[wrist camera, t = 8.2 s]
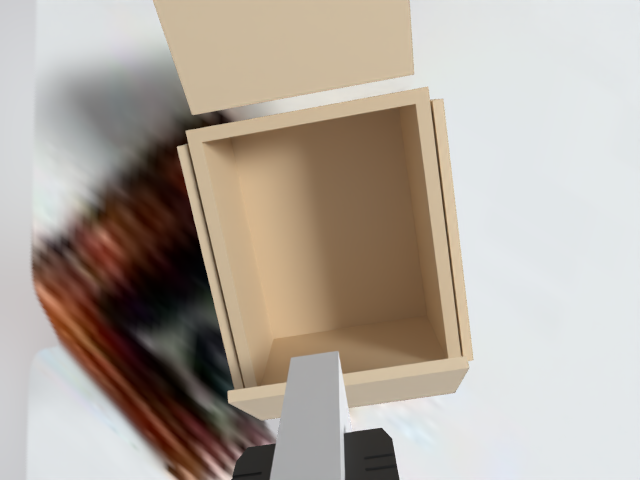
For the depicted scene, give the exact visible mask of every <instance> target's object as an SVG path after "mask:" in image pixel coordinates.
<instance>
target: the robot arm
mask: <svg viewBox="0 0 640 480" xmlns="http://www.w3.org/2000/svg"><path fill="white" fill-rule="evenodd" d="M231 480H399V475H398V469H397V464H396V458H395V453H394V447H393V442H392V438H391V437H390V436H389V435H388V434H387V433H386V432H385V431H384V430H383V429H382V428H377V429H370V430H362V431H355V432H352V426H351V421H350V415H349V409H348V403H347V398H346V392H345V386H344V380H343V375H342V369H341V363H340V358H339V352H338V351H334V352H327V353H320V354H313V355H306V356H299V357H292V358H291V361H290V366H289V372H288V378H287V384H286V389H285V395H284V401H283V406H282V412H281V418H280V424H279V430H278V435H277V441H276V444H270V445H263V446H255V447H248V448H247V449H246V450H245V452H244V453H243V454H242V455H241V456H240V458H239V459H238V460H237V462H236V465H235V469H234V472H233V479H231Z"/></svg>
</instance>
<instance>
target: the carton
mask: <svg viewBox="0 0 640 480" xmlns="http://www.w3.org/2000/svg"><path fill="white" fill-rule="evenodd" d="M186 136H187V140H188V144H185V145H181V146H177V150H178V154H179V158H180V162H181V167H182V171H183V175H184V179H185V183H186V188H187V192H188V196H189V200H190V204H191V209H192V213H193V217H194V221H195V225H196V230H197V234H198V238H199V242H200V246H201V251H202V255H203V259H204V263H205V267H206V272H207V276H208V280H209V284H210V288H211V293H212V297H213V301H214V305H215V309H216V314H217V318H218V322H219V326H220V330H221V335H222V339H223V343H224V347H225V351H226V356H227V360H228V364H229V368H230V372H231V377H232V381H233V385H234V389H235V390H237V389H244V388H251V387H258V386H265V385H272V384H278V383H285V382H287V378H288V372H289V366H290V361H291V358H292V357H299V356H306V355H313V354H320V353H327V352H334V351H338V352H339V358H340V363H341V369H342V374H347V373H353V372H360V371H367V370H374V369H381V368H388V367H394V366H401V365H408V364H415V363H422V362H428V361H435V360H442V359H449V358H456V357H463V356H467V360H468V361H472V360H473V352H472V343H471V334H470V326H469V317H468V308H467V300H466V291H465V283H464V274H463V265H462V257H461V248H460V240H459V231H458V222H457V214H456V205H455V196H454V188H453V179H452V171H451V162H450V153H449V145H448V136H447V128H446V119H445V110H444V102H443V99H433V100H430V97H429V89H428V87H423V88H418V89H412V90H407V91H401V92H396V93H390V94H385V95H379V96H374V97H368V98H363V99H357V100H352V101H346V102H341V103H335V104H330V105H324V106H319V107H313V108H308V109H302V110H297V111H291V112H286V113H280V114H275V115H269V116H264V117H258V118H253V119H247V120H242V121H236V122H231V123H225V124H220V125H214V126H209V127H203V128H198V129H192V130H187V131H186Z"/></svg>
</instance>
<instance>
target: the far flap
mask: <svg viewBox="0 0 640 480" xmlns="http://www.w3.org/2000/svg"><path fill="white" fill-rule="evenodd" d="M468 369H469V364H468V360H467V356H463V357H456V358H449V359H442V360H435V361H428V362H422V363H415V364H408V365H401V366H394V367H388V368H381V369H374V370H367V371H360V372H353V373H347V374H342V375H343V380H344V386H345V392H346V398H347V403H348V408H353V407H360V406H367V405H374V404H381V403H388V402H395V401H402V400H409V399H416V398H423V397H430V396H437V395H444V394H451V393H455V392H456V390H457V388H458V387H459V385H460V383H461V381H462V380H463V378H464V376H465V374H466V373H467V371H468ZM286 384H287V382H285V383H278V384H272V385H265V386H258V387H251V388H244V389H237V390H231V391H228V403H230V404H232V405H233V406H235V407H237V408H239V409H241V410H243V411H245V412H247V413H249V414H250V415H252V416H254V417H256V418H258V419H260V420H268V419H275V418H281V412H282V406H283V401H284V395H285V389H286Z"/></svg>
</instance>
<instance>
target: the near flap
mask: <svg viewBox="0 0 640 480" xmlns="http://www.w3.org/2000/svg"><path fill="white" fill-rule="evenodd" d="M153 2H154V5H155V8H156V11H157V14H158V17H159V20H160V23H161V26H162V28H163V31H164V34H165V37H166V40H167V43H168V46H169V49H170V52H171V55H172V58H173V61H174V63H175V66H176V69H177V72H178V75H179V78H180V81H181V84H182V87H183V90H184V93H185V96H186V99H187V101H188V104H189V107H190V110H191V113H192V115H196V114H202V113H207V112H213V111H218V110H223V109H229V108H234V107H240V106H245V105H251V104H256V103H262V102H267V101H272V100H278V99H283V98H289V97H294V96H300V95H305V94H311V93H316V92H321V91H327V90H332V89H338V88H343V87H349V86H354V85H360V84H365V83H370V82H376V81H381V80H387V79H392V78H398V77H403V76H409V75H414V64H413V48H412V32H411V17H410V1H409V0H153Z"/></svg>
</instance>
